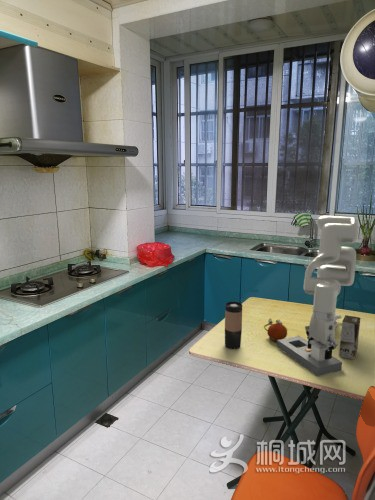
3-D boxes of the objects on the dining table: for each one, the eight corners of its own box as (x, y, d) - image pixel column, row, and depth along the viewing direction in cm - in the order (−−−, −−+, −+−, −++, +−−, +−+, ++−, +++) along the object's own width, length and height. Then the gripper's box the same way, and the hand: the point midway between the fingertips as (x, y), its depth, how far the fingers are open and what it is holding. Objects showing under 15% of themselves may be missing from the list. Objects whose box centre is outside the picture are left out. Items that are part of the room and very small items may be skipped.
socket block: (298, 342, 169) (298, 334, 168) (341, 369, 146) (342, 361, 145) (277, 347, 164) (277, 339, 164) (318, 376, 141) (318, 367, 140)
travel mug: (242, 343, 168) (244, 302, 164) (239, 350, 161) (240, 308, 157) (226, 340, 170) (227, 300, 166) (222, 348, 163) (223, 306, 159)
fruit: (289, 339, 173) (291, 323, 171) (280, 345, 166) (281, 328, 165) (273, 333, 179) (274, 318, 177) (263, 339, 173) (264, 323, 171)
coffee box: (354, 360, 153) (358, 324, 150) (338, 356, 157) (341, 321, 153) (357, 351, 161) (361, 317, 157) (342, 347, 164) (345, 314, 161)
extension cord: (292, 325, 189) (292, 321, 189) (282, 336, 176) (282, 332, 176) (269, 320, 196) (269, 317, 195) (258, 330, 183) (259, 327, 182)
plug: (318, 360, 153) (320, 334, 150) (328, 366, 148) (330, 340, 145) (307, 363, 151) (309, 336, 148) (317, 369, 146) (320, 342, 143)
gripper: (346, 320, 138) (342, 361, 142) (314, 305, 154) (311, 342, 157) (331, 323, 135) (327, 365, 139) (300, 308, 151) (297, 345, 154)
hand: (319, 353), depth 148 cm, fingers open, 9 cm apart
